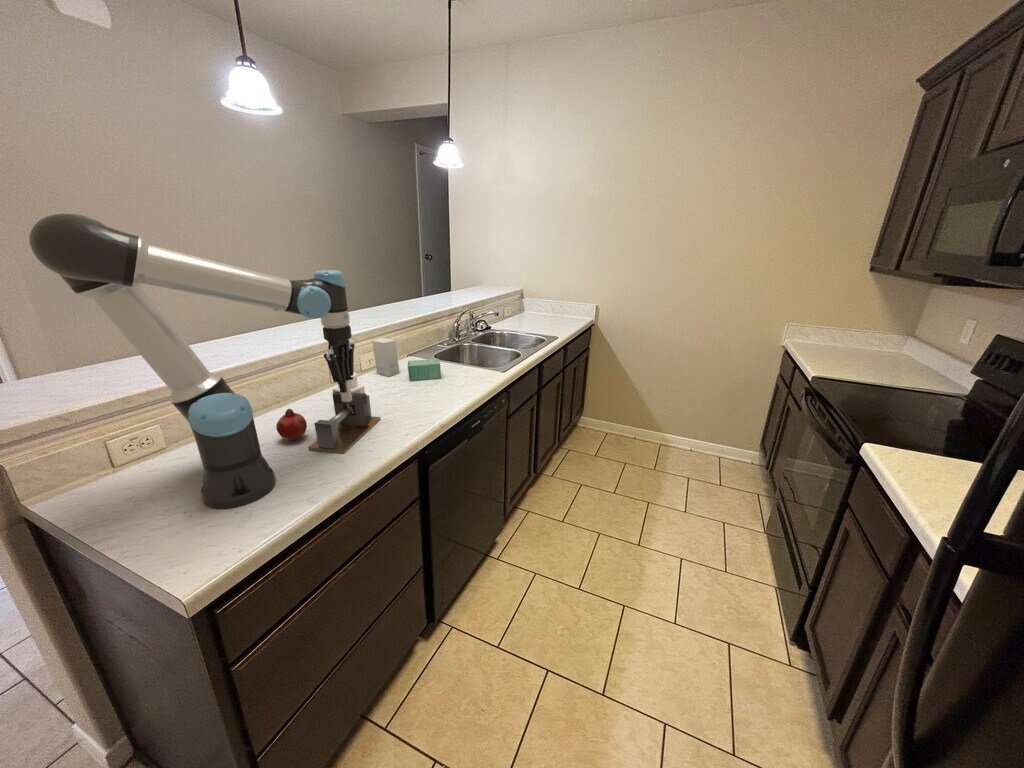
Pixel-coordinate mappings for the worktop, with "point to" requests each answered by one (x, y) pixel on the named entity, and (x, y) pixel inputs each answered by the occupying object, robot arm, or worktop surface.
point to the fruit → (291, 425)
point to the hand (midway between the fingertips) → (347, 400)
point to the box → (424, 369)
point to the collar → (360, 408)
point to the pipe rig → (341, 431)
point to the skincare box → (386, 356)
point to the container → (352, 386)
